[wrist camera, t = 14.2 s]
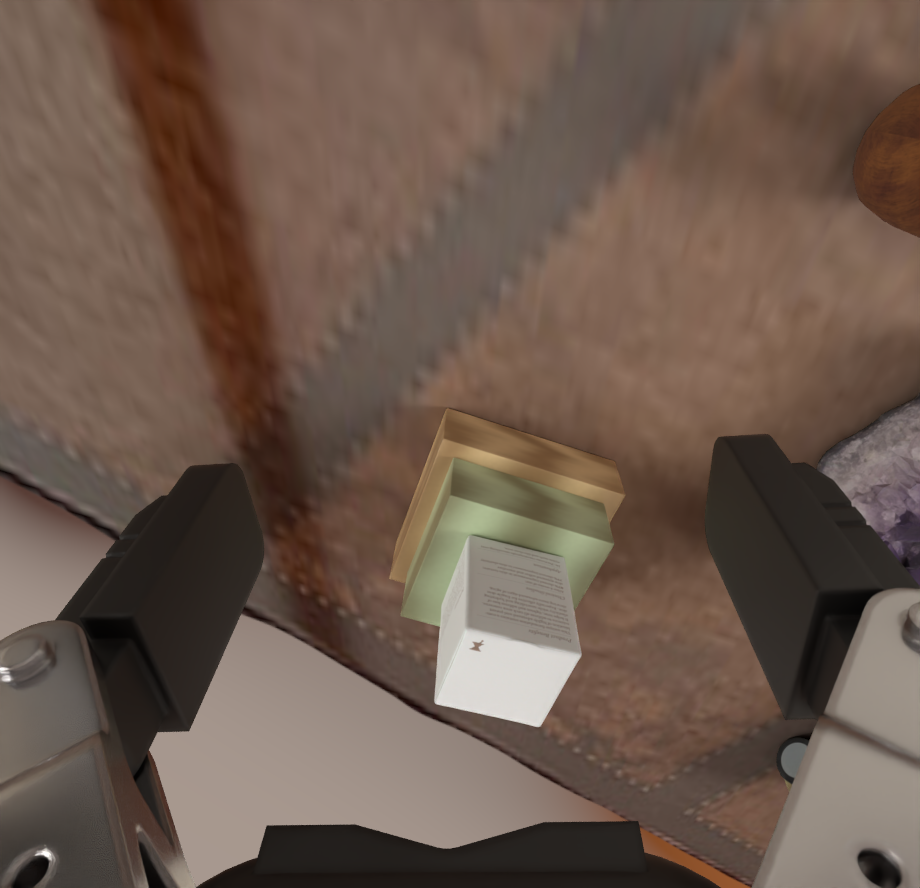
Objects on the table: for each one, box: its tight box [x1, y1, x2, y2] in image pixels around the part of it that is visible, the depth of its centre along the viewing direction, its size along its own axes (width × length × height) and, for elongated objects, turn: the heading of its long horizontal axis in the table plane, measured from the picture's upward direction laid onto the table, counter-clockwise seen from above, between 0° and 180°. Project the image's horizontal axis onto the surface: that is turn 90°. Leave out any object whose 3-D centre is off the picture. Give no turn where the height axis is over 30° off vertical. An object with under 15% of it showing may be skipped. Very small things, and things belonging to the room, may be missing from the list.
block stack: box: [390, 408, 625, 626], centre depth 42 cm, size 12×12×8 cm
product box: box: [435, 535, 582, 727], centre depth 36 cm, size 6×6×7 cm
